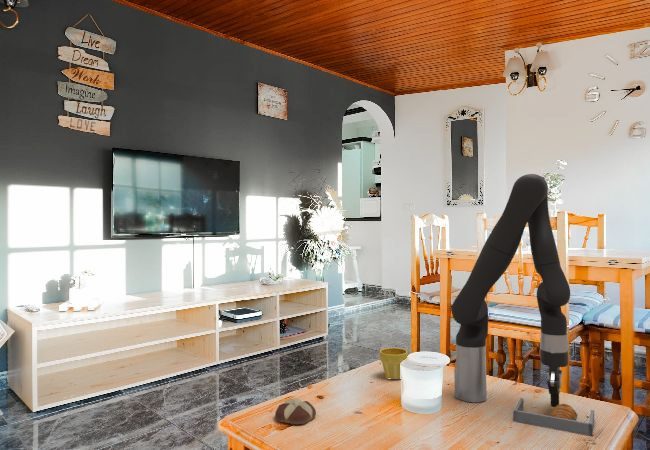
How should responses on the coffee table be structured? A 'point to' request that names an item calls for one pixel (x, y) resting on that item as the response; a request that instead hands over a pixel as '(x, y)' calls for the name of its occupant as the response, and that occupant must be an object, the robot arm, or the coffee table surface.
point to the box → (553, 421)
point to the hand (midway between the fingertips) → (554, 406)
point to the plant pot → (392, 361)
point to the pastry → (564, 412)
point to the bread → (295, 412)
